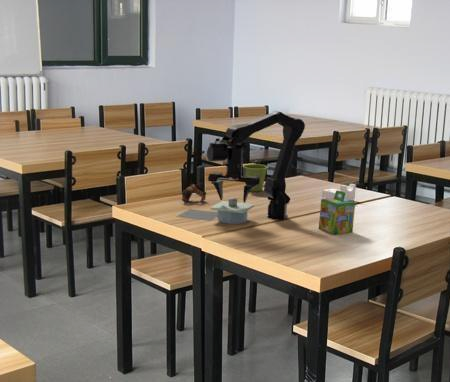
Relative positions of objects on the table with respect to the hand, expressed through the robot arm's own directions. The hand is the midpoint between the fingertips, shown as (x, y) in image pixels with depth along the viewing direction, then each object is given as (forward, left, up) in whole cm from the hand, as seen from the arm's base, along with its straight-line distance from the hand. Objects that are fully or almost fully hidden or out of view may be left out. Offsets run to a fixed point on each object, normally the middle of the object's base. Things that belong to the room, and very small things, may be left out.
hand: (232, 201), depth 268 cm
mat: (+14, -2, -8) cm, 16 cm away
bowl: (0, 0, -8) cm, 8 cm away
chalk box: (-39, -4, -8) cm, 40 cm away
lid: (0, 0, -3) cm, 3 cm away
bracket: (-29, -61, -8) cm, 68 cm away
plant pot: (+10, -60, -8) cm, 61 cm away
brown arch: (+26, -23, -8) cm, 36 cm away
